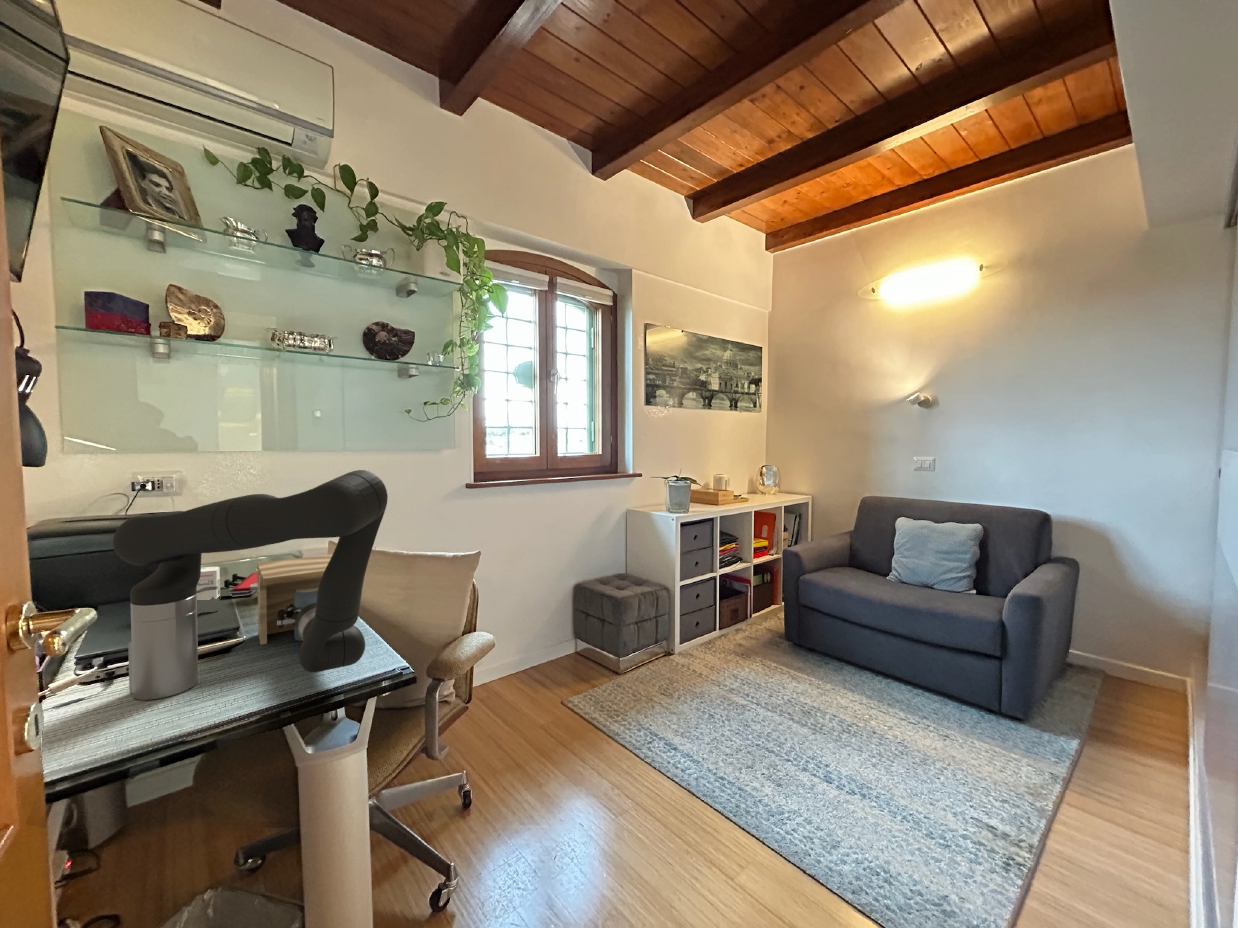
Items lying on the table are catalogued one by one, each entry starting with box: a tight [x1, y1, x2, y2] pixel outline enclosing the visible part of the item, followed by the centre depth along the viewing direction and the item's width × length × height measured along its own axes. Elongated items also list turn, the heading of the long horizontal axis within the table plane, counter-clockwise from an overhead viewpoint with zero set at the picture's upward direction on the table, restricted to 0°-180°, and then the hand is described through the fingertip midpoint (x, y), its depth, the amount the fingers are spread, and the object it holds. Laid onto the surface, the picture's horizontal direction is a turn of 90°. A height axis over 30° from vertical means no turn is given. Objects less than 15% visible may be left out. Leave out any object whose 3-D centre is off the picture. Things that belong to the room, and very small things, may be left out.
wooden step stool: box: [256, 554, 333, 645], centre depth 121 cm, size 18×18×18 cm
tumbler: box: [293, 586, 319, 641], centre depth 119 cm, size 6×6×11 cm
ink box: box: [196, 566, 221, 600], centre depth 139 cm, size 9×5×12 cm, turn 120°
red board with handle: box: [223, 572, 258, 597], centre depth 166 cm, size 30×3×15 cm
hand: (307, 605), depth 121 cm, fingers closed on tumbler, 6 cm apart
